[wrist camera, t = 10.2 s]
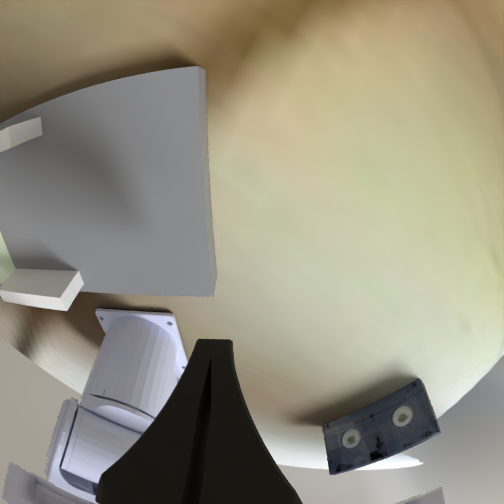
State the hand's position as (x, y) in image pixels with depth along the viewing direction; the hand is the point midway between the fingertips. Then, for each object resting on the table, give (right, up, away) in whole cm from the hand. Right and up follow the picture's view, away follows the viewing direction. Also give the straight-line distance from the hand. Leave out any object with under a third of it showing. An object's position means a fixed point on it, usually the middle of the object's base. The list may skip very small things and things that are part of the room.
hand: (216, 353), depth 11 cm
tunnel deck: (-19, +8, +5) cm, 22 cm away
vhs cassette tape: (+21, -21, +25) cm, 39 cm away
